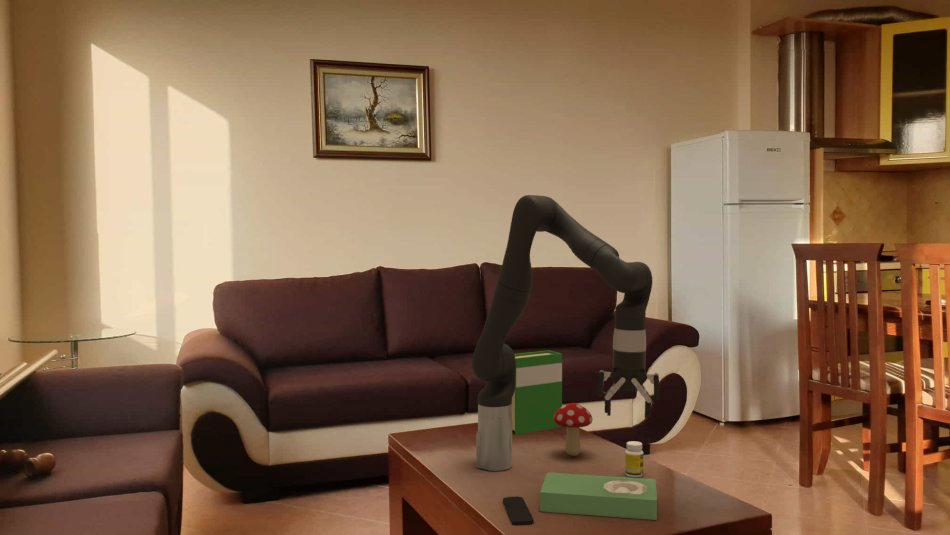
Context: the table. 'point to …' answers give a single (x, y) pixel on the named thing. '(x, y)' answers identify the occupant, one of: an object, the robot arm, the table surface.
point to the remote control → (518, 511)
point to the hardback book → (536, 391)
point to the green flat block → (599, 496)
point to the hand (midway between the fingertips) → (627, 416)
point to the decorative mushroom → (572, 425)
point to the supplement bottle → (634, 459)
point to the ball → (623, 489)
